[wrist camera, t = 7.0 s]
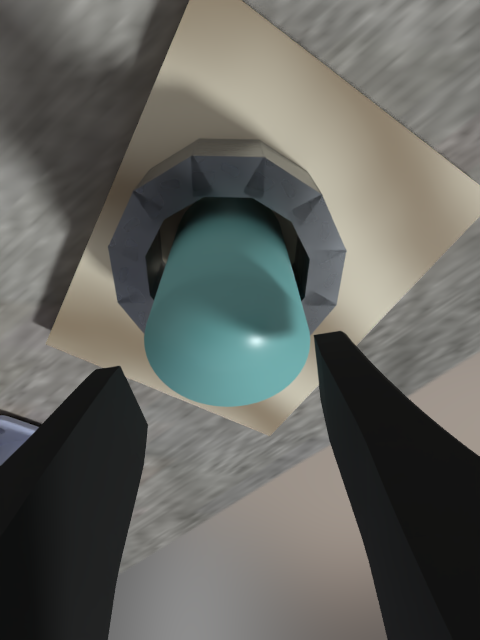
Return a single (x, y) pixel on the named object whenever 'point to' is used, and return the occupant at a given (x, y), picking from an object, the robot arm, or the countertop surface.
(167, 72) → the pale board
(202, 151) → the grey faceted ring
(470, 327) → the countertop surface
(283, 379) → the teal plug
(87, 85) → the countertop surface
